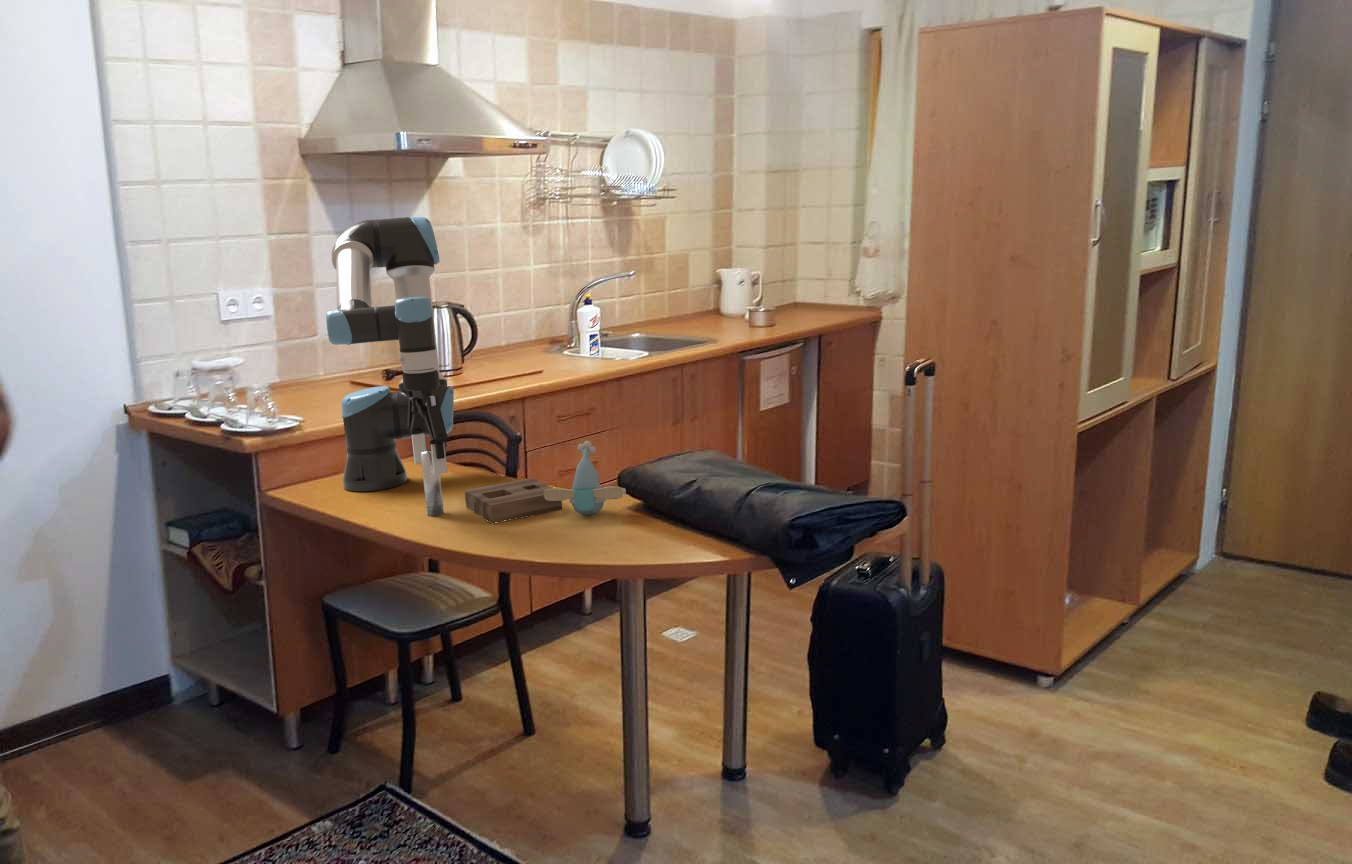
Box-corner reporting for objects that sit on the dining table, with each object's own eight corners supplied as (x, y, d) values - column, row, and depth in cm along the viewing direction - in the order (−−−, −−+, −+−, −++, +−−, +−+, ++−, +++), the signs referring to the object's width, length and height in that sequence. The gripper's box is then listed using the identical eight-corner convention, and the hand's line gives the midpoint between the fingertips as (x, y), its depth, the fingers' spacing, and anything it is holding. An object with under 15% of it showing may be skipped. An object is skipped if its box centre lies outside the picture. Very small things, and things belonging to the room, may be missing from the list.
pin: (425, 513, 242) (418, 451, 239) (440, 510, 244) (434, 448, 241) (430, 517, 239) (423, 454, 236) (446, 514, 241) (439, 451, 238)
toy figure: (631, 505, 238) (626, 437, 235) (624, 520, 228) (619, 449, 225) (555, 508, 240) (549, 440, 237) (545, 522, 230) (538, 452, 227)
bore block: (466, 507, 245) (464, 490, 244) (533, 494, 252) (531, 477, 252) (492, 523, 231) (490, 505, 230) (562, 509, 239) (560, 491, 238)
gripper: (386, 367, 244) (396, 461, 248) (420, 378, 222) (431, 480, 226) (419, 363, 247) (429, 456, 251) (456, 373, 226) (466, 474, 230)
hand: (430, 468), depth 239 cm, fingers open, 13 cm apart
